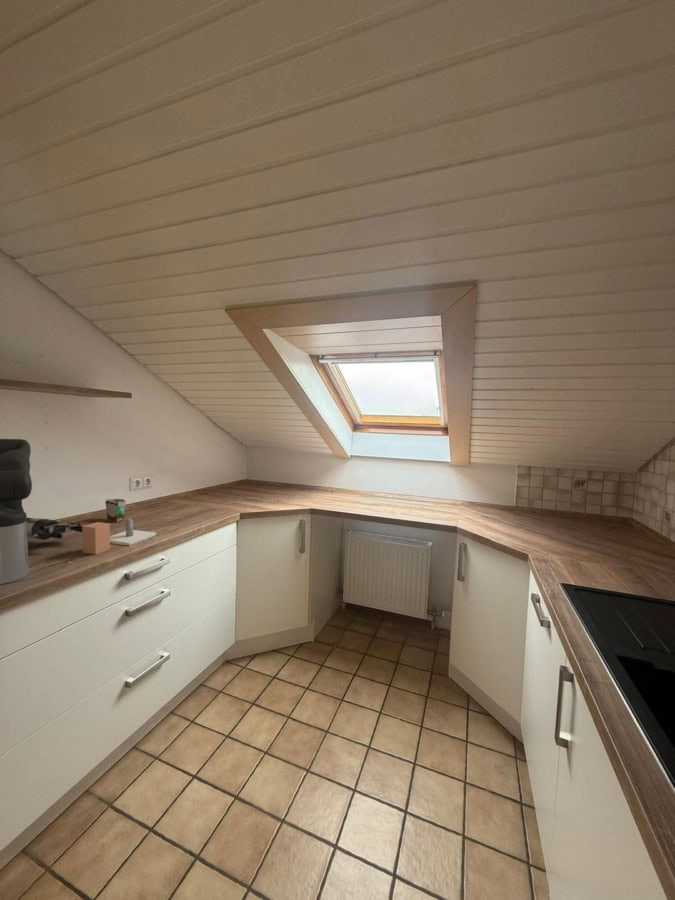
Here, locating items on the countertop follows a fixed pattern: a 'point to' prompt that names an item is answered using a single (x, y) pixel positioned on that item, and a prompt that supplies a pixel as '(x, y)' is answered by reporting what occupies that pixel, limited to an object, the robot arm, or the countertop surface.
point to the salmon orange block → (96, 537)
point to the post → (130, 535)
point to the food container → (115, 509)
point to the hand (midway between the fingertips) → (72, 532)
